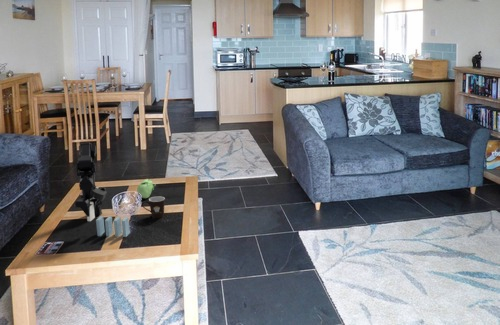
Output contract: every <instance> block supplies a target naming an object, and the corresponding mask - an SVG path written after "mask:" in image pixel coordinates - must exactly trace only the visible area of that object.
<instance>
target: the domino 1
mask: <svg viewBox="0 0 500 325" xmlns="http://www.w3.org/2000/svg"><path fill="white" fill-rule="evenodd" d="M90 204H92V205H91V206H90V216H89V217H86V220H87V222H92V221H93V220H94V219H95V218H96V217H95V213H94V203H93V202H92V201H90Z"/></svg>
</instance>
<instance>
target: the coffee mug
mask: <svg viewBox="0 0 500 325" xmlns="http://www.w3.org/2000/svg"><path fill="white" fill-rule="evenodd" d="M165 200H166V198H165V197H164V196H151V197H148V201H144V202H142V204H141V206H142V208H143V209H145V210H146V211H148V212H150V213H151V217H152V219H162V218H164V216H165V215H164V214H165V203H166V202H165ZM145 203H147V204H148V205H149V209H148V208H146V207H145V206H144V204H145Z"/></svg>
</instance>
